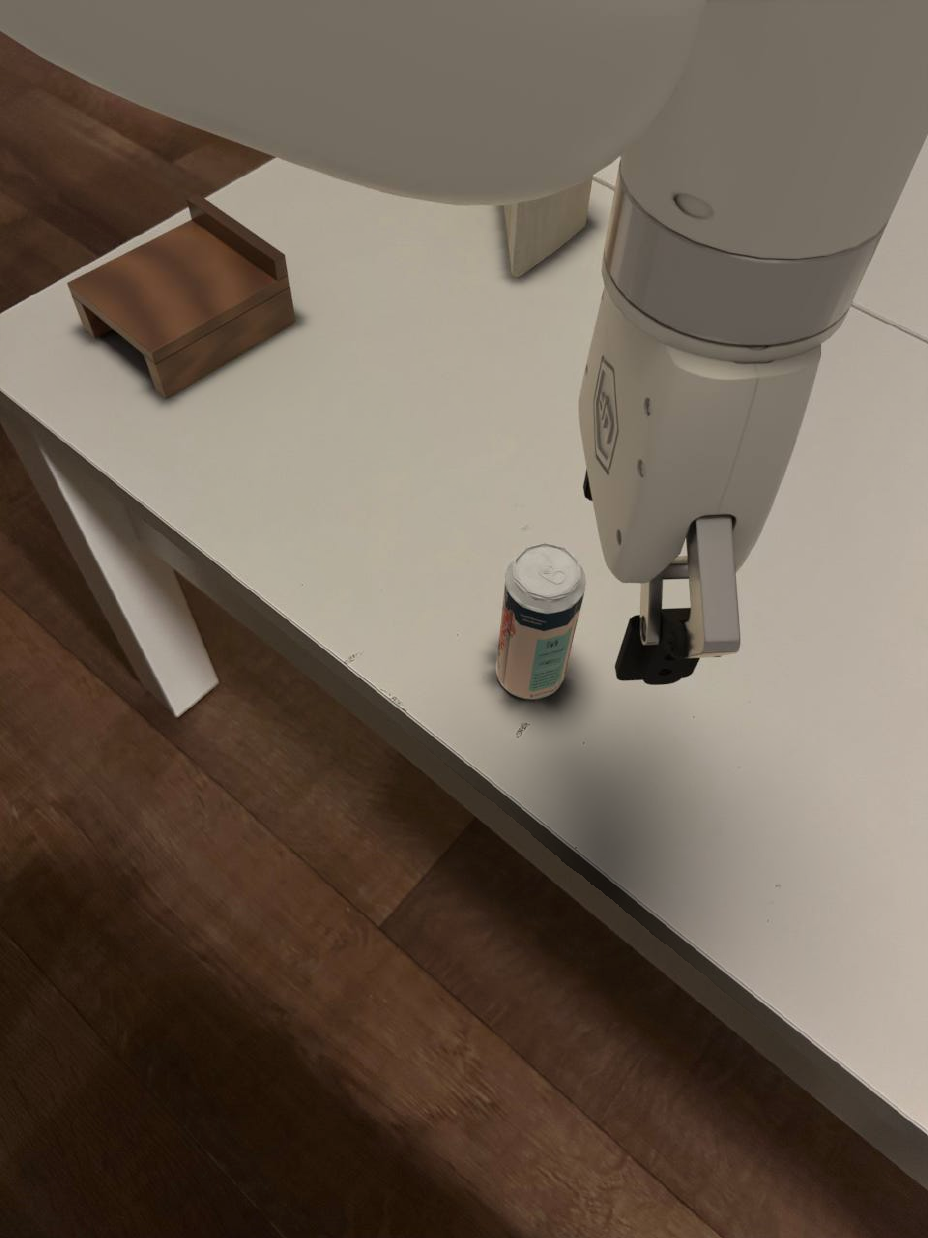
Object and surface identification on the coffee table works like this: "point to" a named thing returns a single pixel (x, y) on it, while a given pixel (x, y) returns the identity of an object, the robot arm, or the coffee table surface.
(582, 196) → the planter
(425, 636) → the coffee table surface
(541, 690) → the beer can
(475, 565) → the coffee table surface
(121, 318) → the shelf
